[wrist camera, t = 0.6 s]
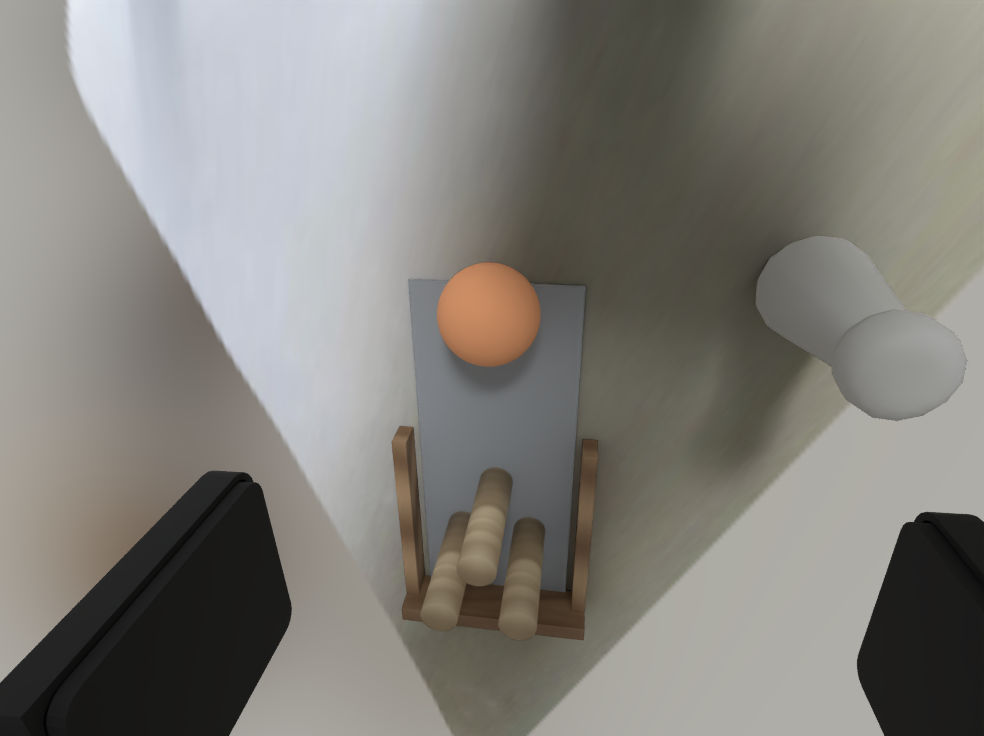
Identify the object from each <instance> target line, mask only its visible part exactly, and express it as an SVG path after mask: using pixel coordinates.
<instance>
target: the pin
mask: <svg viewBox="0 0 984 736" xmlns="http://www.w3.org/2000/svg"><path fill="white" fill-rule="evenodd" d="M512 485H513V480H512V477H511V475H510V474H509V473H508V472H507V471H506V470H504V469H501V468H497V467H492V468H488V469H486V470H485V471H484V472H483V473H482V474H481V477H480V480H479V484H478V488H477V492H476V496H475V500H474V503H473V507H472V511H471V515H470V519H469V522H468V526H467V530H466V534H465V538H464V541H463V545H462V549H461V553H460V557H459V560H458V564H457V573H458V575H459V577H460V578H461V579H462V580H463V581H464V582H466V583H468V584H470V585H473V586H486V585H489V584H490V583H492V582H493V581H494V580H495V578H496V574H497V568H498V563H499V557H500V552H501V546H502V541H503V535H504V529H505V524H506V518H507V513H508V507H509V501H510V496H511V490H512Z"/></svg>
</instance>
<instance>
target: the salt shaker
mask: <svg viewBox="0 0 984 736" xmlns="http://www.w3.org/2000/svg"><path fill="white" fill-rule="evenodd" d="M755 303H756V307H757V309H758V311H759V312H760V314H761V316H762V318H763V320H764V322H765V324H766V326H768V327H769V328H771V329H772V330H774V331H775V332H777V333H778V334H779V335H781V336H782V337H784V338H785V339H787V340H789V341H790V342H792V343H794V344H795V345H797V346H798V347H800V348H802V349H803V350H805V351H807V352H808V353H810V354H812V355H813V356H815V357H817V358H818V359H820V360H822V361H823V362H825V363H827V364H828V365H830V366H831V367H832V375H833V377H834V379H835V381H836V383H837V385H838V387H839V389H840V391H841V393H842V394H843V396H844V397H845V399H846V400H847V401H849V402H850V403H852V404H853V405H855V406H856V407H858V408H859V409H861V410H862V411H864V412H865V413H867V414H868V415H869V416H871V417H873V418H880V419H888V420H895V421H898V420H903V419H908V418H913V417H918V416H923V415H925V414H926V413H928V412H930V411H932V410H933V409H935V408H936V407H938V406H940V405H942V404H943V403H945V402H946V401H947V400H948V399H949V398H950V397H951V395H952V394H953V393H954V392H955V391H956V390H957V388H958V387H959V386H960V385H961V384H962V382H963V378H964V374H965V370H966V365H967V358H966V355H965V353H964V350H963V347H962V344H961V341H960V340H959V338H958V337H957V336H956V335H955V333H954V332H953V331H951V330H950V329H948V328H947V327H945V326H943V325H942V324H941V323H939V322H938V321H936V320H935V319H933V318H931V317H930V316H928V315H926V314H925V313H918V312H911V311H907V310H906V309H905V307H904V306H903V305H902V303H901V302H900V300H899V299H898V297H897V296H896V295H895V293H894V292H893V290H892V289H891V287H890V286H889V285H888V283H887V282H886V280H885V279H884V278H883V276H882V275H881V273H880V272H879V270H878V269H877V268H876V266H875V265H874V263H873V262H872V260H871V259H870V258H869V256H868V255H867V253H865V252H864V251H862V250H861V249H859V248H858V247H857V246H855V245H854V244H852V243H851V242H849V241H848V240H846V239H842V238H835V237H827V236H818V235H816V236H812V237H809V238H805V239H802V240H799V241H795V242H792V243H790V244H788V245H787V246H786V247H784V248H783V249H782V250H781V251H779V252H778V253H777V254H775V255H773V256H771V257H770V259H769V260H768V262H767V264H766V266H765V267H764V269H763V271H762V273H761V275H760V276H759V278H758V280H757V289H756V302H755Z"/></svg>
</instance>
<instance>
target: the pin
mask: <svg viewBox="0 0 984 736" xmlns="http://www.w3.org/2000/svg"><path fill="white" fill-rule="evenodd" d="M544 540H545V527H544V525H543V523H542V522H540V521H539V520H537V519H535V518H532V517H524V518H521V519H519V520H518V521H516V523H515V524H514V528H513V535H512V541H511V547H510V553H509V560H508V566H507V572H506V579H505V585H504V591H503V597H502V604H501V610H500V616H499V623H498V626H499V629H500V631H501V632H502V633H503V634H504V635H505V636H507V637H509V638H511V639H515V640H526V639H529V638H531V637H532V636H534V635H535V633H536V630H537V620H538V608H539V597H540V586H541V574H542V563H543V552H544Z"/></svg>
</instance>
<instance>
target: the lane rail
mask: <svg viewBox="0 0 984 736" xmlns="http://www.w3.org/2000/svg"><path fill="white" fill-rule="evenodd" d="M392 451H393V460H394V470H395V480H396V490H397V500H398V510H399V520H400V530H401V540H402V550H403V560H404V570H405V580H406V590H407V594H406V597H405V600H404V603H403V606H402V617H403V619H404V620H413V621H421V622H423V621H422V619H421V616H420V614H421V610H422V607H423V603H424V600H425V597H426V594H427V590H428V587H429V584H430V581H431V577H430V576H425V567H424V554H423V542H422V529H421V517H420V504H419V492H418V479H417V466H416V454H415V441H414V429H413V427H406V426H400V427H399V429H398V430H397V432H396V434H395V436H394V438H393V440H392ZM597 466H598V440H588V439H583V445H582V459H581V473H580V486H579V500H578V514H577V527H576V541H575V555H574V568H573V582H572V591H567V590H566V592H558V591H549V590H540V597H539V608H538V620H537V630H536V633H535V635H542V636H551V637H559V638H568V639H577V640H584V612H585V601H586V590H587V578H588V567H589V556H590V545H591V533H592V522H593V511H594V500H595V488H596V477H597ZM503 591H504V586H501V585H492V584H489V585H486V586H473V585H470V584H468V583H466V587H465V591H464V596H463V600H462V604H461V608H460V613H459V617H458V621H457V624H456V626H464V627H473V628H482V629H490V630H499V631H500V629H499V626H498V623H499V616H500V610H501V604H502V597H503Z"/></svg>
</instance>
